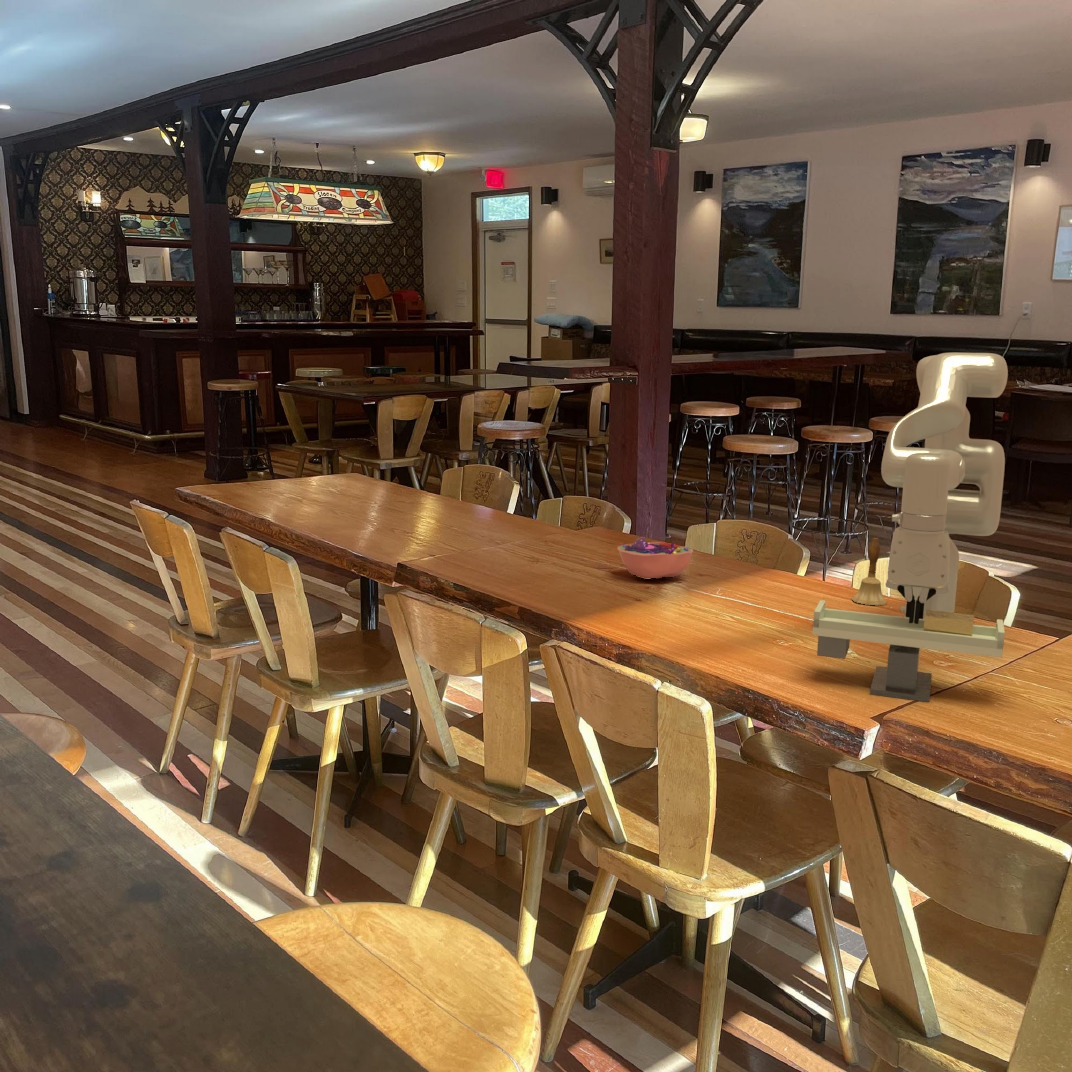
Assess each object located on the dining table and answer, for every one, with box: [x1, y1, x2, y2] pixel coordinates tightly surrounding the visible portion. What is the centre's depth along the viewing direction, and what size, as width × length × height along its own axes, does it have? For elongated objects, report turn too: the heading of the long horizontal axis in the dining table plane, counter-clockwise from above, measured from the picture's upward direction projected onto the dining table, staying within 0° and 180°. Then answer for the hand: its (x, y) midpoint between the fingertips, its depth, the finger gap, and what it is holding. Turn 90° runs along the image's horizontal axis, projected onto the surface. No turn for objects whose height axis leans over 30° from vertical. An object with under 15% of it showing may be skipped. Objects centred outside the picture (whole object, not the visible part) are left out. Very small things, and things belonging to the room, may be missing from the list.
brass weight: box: [923, 610, 975, 636], centre depth 180 cm, size 8×5×4 cm, turn 65°
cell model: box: [616, 536, 694, 579], centre depth 266 cm, size 17×20×11 cm
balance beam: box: [812, 599, 1006, 660], centre depth 184 cm, size 32×9×8 cm, turn 67°
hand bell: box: [851, 537, 888, 607], centre depth 245 cm, size 8×8×16 cm
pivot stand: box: [869, 644, 933, 703], centre depth 185 cm, size 10×14×8 cm
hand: (913, 621), depth 183 cm, fingers closed
